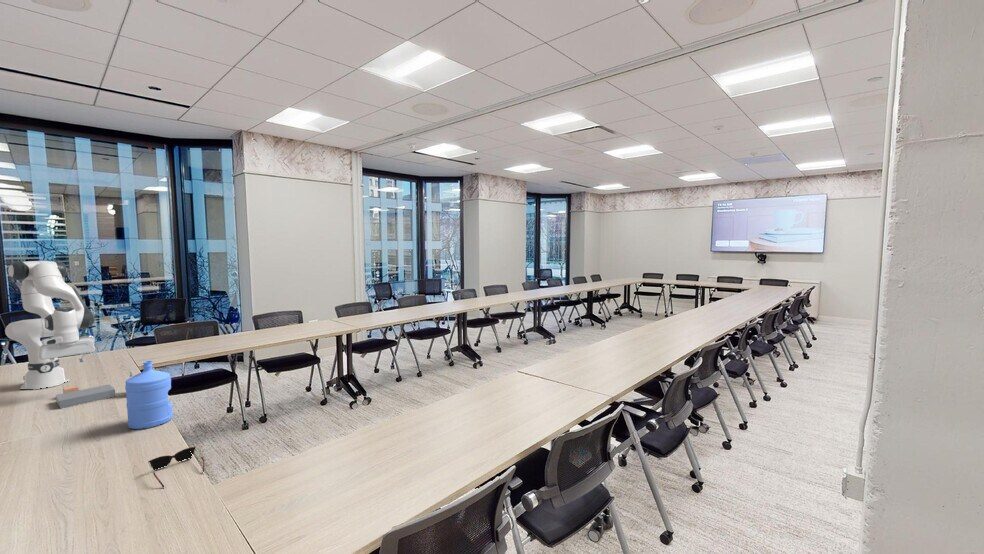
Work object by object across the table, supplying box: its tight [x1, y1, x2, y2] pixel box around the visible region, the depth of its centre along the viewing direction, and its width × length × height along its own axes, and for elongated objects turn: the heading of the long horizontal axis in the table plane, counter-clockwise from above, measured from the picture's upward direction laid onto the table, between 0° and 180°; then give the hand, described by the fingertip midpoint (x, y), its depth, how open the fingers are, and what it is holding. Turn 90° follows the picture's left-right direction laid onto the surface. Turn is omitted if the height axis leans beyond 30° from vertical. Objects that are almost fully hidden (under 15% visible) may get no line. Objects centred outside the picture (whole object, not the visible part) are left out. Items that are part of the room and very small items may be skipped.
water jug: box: [124, 360, 174, 430], centre depth 179 cm, size 16×16×28 cm
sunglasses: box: [147, 446, 205, 488], centre depth 140 cm, size 14×16×5 cm
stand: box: [55, 384, 116, 410], centre depth 207 cm, size 13×20×4 cm, turn 143°
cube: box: [62, 384, 79, 394], centre depth 211 cm, size 5×5×5 cm
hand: (69, 364), depth 210 cm, fingers open, 8 cm apart
